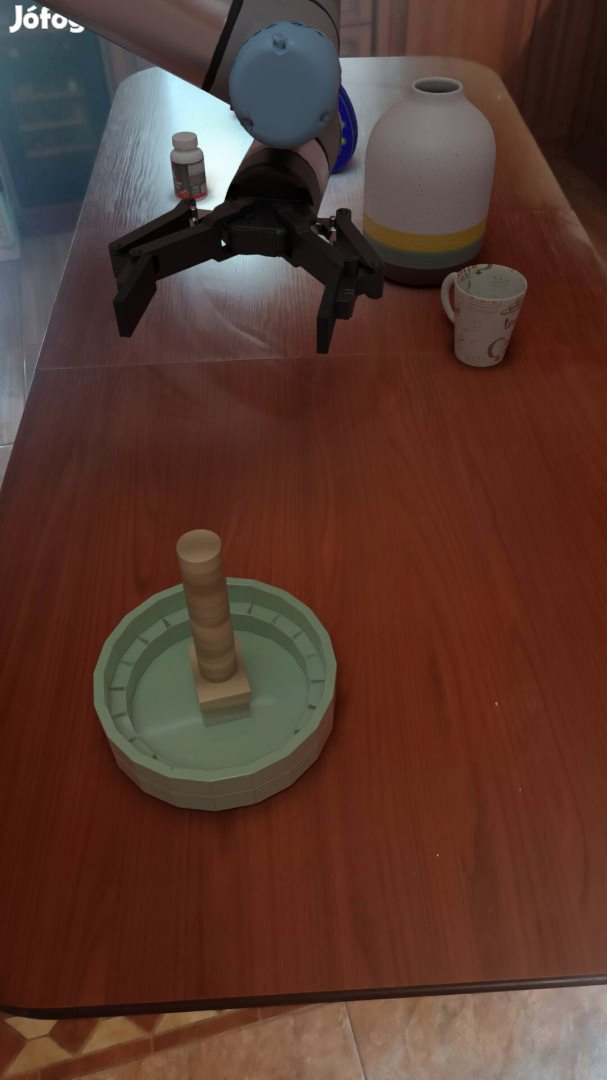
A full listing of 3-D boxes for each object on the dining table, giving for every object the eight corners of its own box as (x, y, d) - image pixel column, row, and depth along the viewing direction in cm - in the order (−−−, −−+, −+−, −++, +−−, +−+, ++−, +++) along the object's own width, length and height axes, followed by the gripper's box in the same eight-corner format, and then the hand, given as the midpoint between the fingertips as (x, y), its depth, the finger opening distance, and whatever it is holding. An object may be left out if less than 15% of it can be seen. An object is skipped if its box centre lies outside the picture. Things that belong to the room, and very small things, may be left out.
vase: (336, 268, 116) (339, 86, 98) (411, 229, 124) (426, 54, 106) (428, 311, 107) (449, 120, 90) (502, 266, 116) (534, 83, 98)
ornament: (289, 178, 138) (286, 82, 127) (299, 158, 144) (297, 64, 133) (353, 182, 136) (355, 85, 125) (360, 161, 142) (363, 67, 132)
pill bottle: (169, 197, 133) (160, 135, 126) (194, 188, 136) (187, 126, 129) (188, 207, 130) (181, 145, 123) (214, 197, 133) (208, 135, 126)
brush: (192, 673, 67) (162, 522, 54) (239, 662, 68) (220, 510, 55) (204, 730, 63) (174, 582, 50) (254, 718, 64) (237, 569, 51)
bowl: (104, 635, 71) (91, 595, 67) (310, 602, 73) (309, 562, 69) (110, 836, 58) (95, 803, 54) (358, 789, 61) (361, 753, 57)
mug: (476, 382, 96) (488, 307, 89) (410, 335, 104) (417, 262, 96) (526, 359, 99) (542, 285, 92) (459, 315, 107) (469, 243, 99)
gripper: (422, 244, 69) (404, 391, 54) (141, 226, 71) (54, 360, 57) (431, 154, 63) (415, 289, 49) (127, 137, 66) (27, 261, 52)
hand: (220, 328), depth 53 cm, fingers open, 13 cm apart
